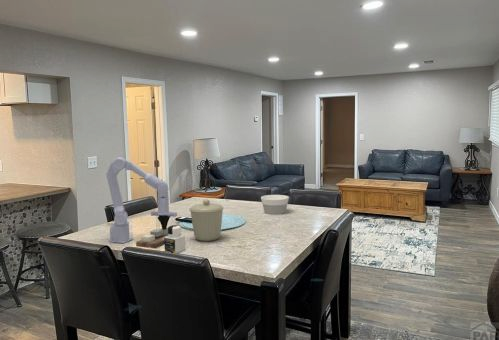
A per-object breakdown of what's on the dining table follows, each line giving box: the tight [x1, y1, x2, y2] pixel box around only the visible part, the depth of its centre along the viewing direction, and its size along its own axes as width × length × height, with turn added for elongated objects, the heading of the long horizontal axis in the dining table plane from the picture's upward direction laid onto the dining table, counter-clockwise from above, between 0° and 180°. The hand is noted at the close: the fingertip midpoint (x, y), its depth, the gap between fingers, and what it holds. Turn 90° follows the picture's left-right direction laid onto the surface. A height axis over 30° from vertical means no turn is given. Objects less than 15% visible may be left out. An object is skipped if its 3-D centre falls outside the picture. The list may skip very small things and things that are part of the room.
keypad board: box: [135, 233, 182, 249], centre depth 203 cm, size 12×22×2 cm, turn 157°
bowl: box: [260, 194, 290, 216], centre depth 266 cm, size 19×19×11 cm
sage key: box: [158, 227, 168, 235], centre depth 210 cm, size 5×5×2 cm
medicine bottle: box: [163, 224, 186, 254], centre depth 186 cm, size 7×7×12 cm
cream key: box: [141, 233, 155, 242], centre depth 197 cm, size 5×5×2 cm
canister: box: [188, 198, 225, 242], centre depth 204 cm, size 18×18×21 cm
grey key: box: [149, 228, 163, 237], centre depth 203 cm, size 5×5×2 cm
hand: (164, 229), depth 209 cm, fingers closed, pressing on sage key
